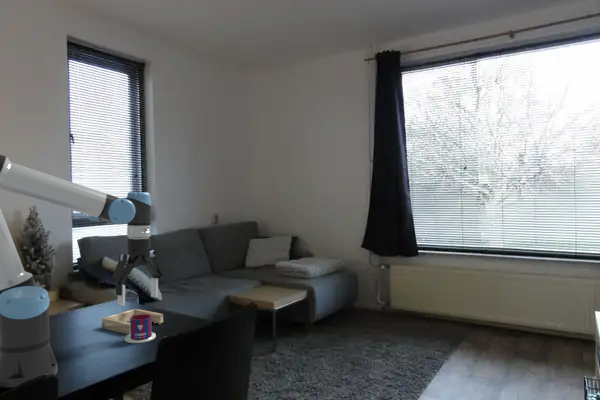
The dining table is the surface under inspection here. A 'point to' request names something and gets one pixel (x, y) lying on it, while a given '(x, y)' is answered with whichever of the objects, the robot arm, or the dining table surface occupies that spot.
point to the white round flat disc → (129, 340)
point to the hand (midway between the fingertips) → (138, 300)
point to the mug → (141, 326)
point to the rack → (120, 320)
